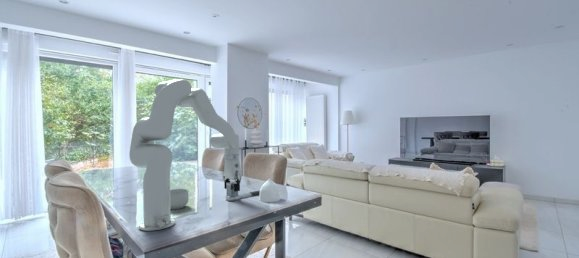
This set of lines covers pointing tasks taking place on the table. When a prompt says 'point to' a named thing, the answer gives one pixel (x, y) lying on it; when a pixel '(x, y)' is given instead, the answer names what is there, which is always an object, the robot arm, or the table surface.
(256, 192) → the ratchet
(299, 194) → the table surface
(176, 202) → the teacup
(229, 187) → the socket
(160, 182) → the robot arm
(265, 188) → the teardrop
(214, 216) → the table surface
